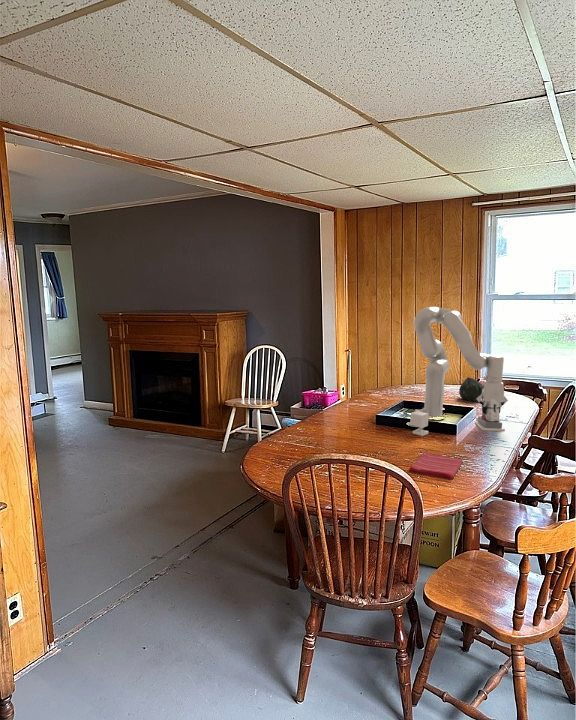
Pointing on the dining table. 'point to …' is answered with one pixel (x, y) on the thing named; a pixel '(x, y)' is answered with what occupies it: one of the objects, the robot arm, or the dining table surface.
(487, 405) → the ink box
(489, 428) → the dock board
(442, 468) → the dish towel
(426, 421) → the security camera
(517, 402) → the dining table surface
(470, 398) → the squash
